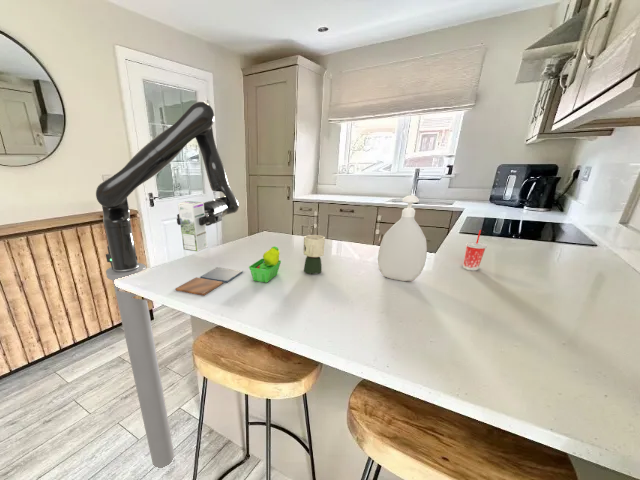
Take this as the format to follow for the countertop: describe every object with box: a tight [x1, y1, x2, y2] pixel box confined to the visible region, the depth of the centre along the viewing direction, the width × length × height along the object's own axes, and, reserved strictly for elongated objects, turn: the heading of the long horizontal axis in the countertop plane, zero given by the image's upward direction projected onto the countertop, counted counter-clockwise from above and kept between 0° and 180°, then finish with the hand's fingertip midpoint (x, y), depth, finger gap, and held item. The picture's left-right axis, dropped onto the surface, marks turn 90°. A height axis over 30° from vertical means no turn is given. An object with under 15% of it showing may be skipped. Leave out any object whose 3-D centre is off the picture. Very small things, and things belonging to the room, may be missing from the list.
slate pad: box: [199, 267, 243, 284], centre depth 110 cm, size 11×11×1 cm
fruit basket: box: [248, 246, 282, 283], centre depth 105 cm, size 11×9×11 cm
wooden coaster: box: [175, 276, 224, 296], centre depth 100 cm, size 11×11×1 cm
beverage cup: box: [462, 229, 488, 271], centre depth 108 cm, size 6×6×14 cm
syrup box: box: [177, 200, 209, 252], centre depth 95 cm, size 6×6×14 cm
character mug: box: [303, 234, 326, 275], centre depth 108 cm, size 11×7×13 cm, turn 159°
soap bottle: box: [377, 194, 428, 282], centre depth 99 cm, size 14×8×27 cm, turn 53°
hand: (189, 221), depth 92 cm, fingers closed on syrup box, 6 cm apart
